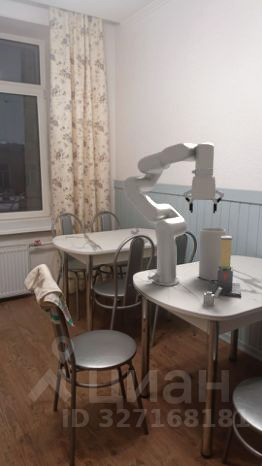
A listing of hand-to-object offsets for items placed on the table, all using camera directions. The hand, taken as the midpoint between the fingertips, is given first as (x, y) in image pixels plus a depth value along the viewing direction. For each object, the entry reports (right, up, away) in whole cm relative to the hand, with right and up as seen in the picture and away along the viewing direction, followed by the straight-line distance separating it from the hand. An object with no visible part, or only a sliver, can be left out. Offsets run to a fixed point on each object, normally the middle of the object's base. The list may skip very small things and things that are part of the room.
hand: (202, 212), depth 147 cm
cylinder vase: (+10, -32, +27) cm, 43 cm away
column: (+12, -27, +6) cm, 30 cm away
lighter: (+2, -39, -8) cm, 40 cm away
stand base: (+12, -35, +8) cm, 38 cm away
